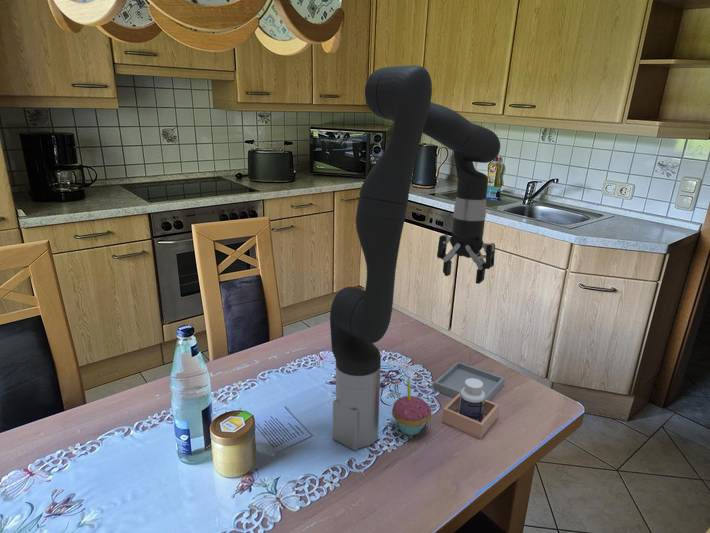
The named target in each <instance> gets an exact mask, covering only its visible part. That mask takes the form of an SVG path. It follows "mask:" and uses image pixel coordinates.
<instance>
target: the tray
mask: <svg viewBox="0 0 710 533" xmlns="http://www.w3.org/2000/svg"><path fill="white" fill-rule="evenodd" d="M469 378H475V379H478V380H480V381H482V383H483V391H484V393H485V400H488V401H490V402H491V401H492V399H493V398H494V397H495V396H496V395H497V393H498V392H499V391H500V390H501V389H502V388H503V387H504V384H505V377H502V376H500V375H497V374H495V373H492V372H488V371H486V370H482V369H481V368H477V367H474V366H471V365H468V364H465V363H463V362H460V361H457V362H456V363H454V364H453V365H452V366H451V367H450V368H448V369H447V370H446V371H445V372H444V373H443V374H442V375H440V377H438V378H437V379H436V380H435V381H434V382H433V390H434V391H437V392H439V393H441V394H444V395H447V396H449V397H451V398H452V399H454V398H455V397H456V396H457V395H458V394H459V393H460V392H461V390H462V389H463V388H464V385H465V380H467V379H469Z"/></svg>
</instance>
